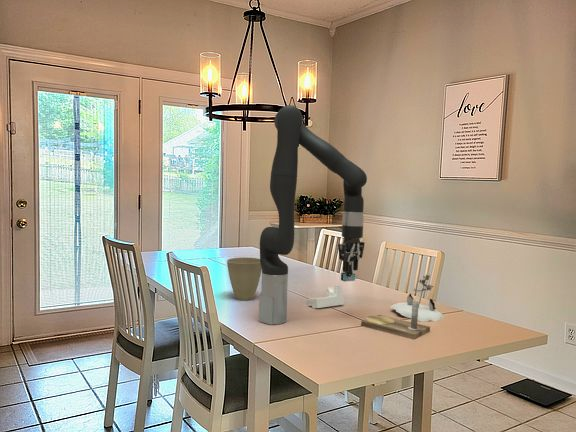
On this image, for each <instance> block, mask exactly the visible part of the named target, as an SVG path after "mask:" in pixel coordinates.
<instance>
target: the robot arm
mask: <svg viewBox="0 0 576 432" xmlns="http://www.w3.org/2000/svg"><path fill="white" fill-rule="evenodd" d="M303 120H304V119H303V115H302V112H301V110H300V109H299V108H298V107H297V106H295V105H292V104H289V105H285V106H283V107H281V108H280V109H279V110H278V112H277V113H276V114H275V117H274V119H273V121H274V122H273V123H274V126H275V128H276V130H277V134H276V135H277V136H276V137H277V139H276V148H275V153H274V155H273V156H274V157H273V160H272V166H271V169H270V170H271V171H270V181H269V191H270V195H271V197H272V200H273V201H274V204H275V206H276V209H277V214H278V227H277V226H276V227H275V226H267V227H265V228H263V230H262V232H261V234H260V236H259V237H260V238H259V259H260V264H261V267H262V270H261V286H260V287H261V291H260V294H259V295H258V322H260V323H263V324H266V325H271V326H272V325H281V324H285V323H286V322H287V319H288V318H287V317H288V316H287V314H288V289H289V288H288V285H289V284H288V283H289V282H288V280H289V266H288V264H286V263H285V262H284V261H283V260H282V259H281V258H280V256H287V255H289V254H291V252H292V251H293V248H294V244H295V207H296V206H295V204H296V193H297V184H298V183H297V182H298V170H299V169H298V168H299V167H298V165H299V160H298V159H299V155H298V154H299V152H298V151H299V145H300V146H301V147H302V148H304V149H305V150H306V151H308V152H309V153H310V154H311V155H312V156H313V157H314V158H316V160H317V161H319V162H320V163H321V164H322V165H324V166H325V167H326V169H328V170H329V171H331V172H332V173H334V174H336V175H338V176H339V177H340V178H341V179H343V195H344V199H343V212H342V220H341V221H342V222H341V223H342V225H341V237H342V238H343V241H342V243H338V244H337V249H338V260H340V261H342V273H343V272H349V260H350V257H351V256H352V253H354V256H356V260H355V261H354V262H353V271H354V272H355V271H356V272H357V271H358V270H359V268H358V267H359V261H360V259H362V258H363V254H364V250H365V244H366V243H365V242H364V241H361V239H362V238H363V235H364V221H365V220H364V218H365V217H364V197H363V195H362V191H363V188H364V186H365V185H366V184H367V181H368V177H367V174H366V173H365V171H364V170H363V169H362V168H361V167H359V165H357V164H355V163H354V162H352V161H351V160H349V159H348V158H347V157H345V155H344V154H343V153H341V151H339V150H338V149H337V148H336V147H334V146H333V145H332V144H330V143H329V142H328V141H326V140H324V139H323V138H321V137H320V136H318V135H316V134H315V133H313V131H312V130H310V129H309V128H308V127H307V126H306V125H305V124H304V122H303ZM279 255H280V256H279ZM342 255H343V257H342ZM346 255H348V256H346Z"/></svg>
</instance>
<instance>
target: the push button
mask: <svg viewBox="0 0 576 432" xmlns="http://www.w3.org/2000/svg"><path fill="white" fill-rule="evenodd" d="M346 256H348V255H346ZM342 257H343V254H342ZM355 260H356V256H354V253H352V256H351V257H350V260H349V272H343V271H342V272H341V273H340V281H342V282H354V281H356V280H359V278H357V277H358V275H356V273H354V272H355V270H353V262H354V261H355Z"/></svg>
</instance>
